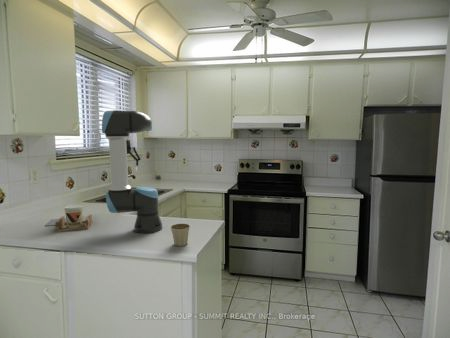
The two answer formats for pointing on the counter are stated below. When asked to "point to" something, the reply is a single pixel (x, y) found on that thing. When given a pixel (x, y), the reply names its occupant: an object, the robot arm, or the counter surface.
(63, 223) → the cradle
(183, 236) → the flower pot
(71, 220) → the coffee cup
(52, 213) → the counter surface
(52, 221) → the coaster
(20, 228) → the counter surface
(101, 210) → the counter surface
